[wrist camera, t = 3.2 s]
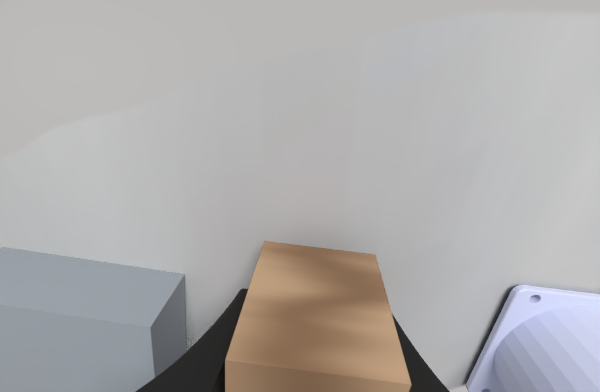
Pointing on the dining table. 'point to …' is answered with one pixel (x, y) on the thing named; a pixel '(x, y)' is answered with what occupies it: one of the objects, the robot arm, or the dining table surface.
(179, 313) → the slate box
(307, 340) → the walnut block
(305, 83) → the dining table surface
